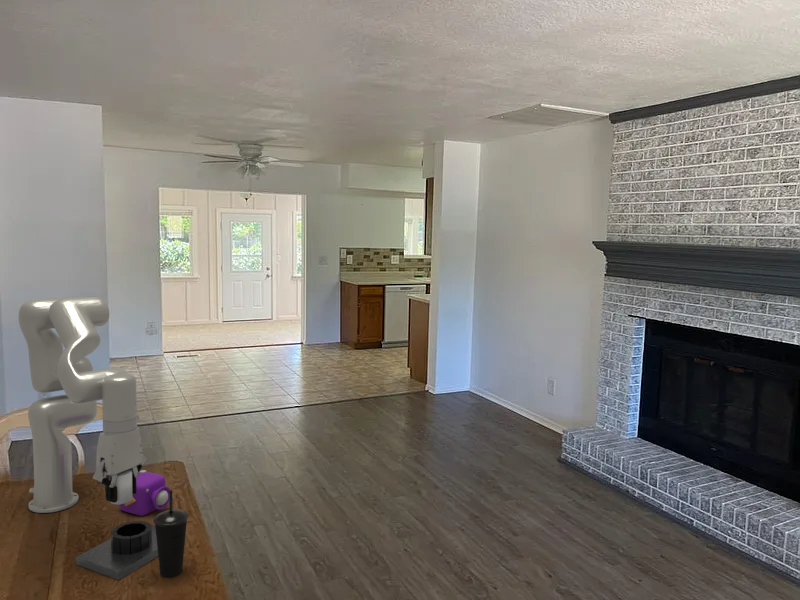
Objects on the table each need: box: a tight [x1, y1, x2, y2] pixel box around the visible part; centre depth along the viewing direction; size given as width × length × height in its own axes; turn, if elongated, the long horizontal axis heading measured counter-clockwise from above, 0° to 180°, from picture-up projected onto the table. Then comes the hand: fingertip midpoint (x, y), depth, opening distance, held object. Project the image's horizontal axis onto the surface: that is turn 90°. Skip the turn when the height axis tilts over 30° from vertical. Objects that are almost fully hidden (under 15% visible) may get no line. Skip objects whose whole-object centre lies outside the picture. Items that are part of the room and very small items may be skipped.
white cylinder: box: [109, 469, 133, 505], centre depth 147 cm, size 5×5×7 cm
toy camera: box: [119, 469, 171, 517], centre depth 172 cm, size 11×14×10 cm
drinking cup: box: [153, 489, 189, 579], centre depth 140 cm, size 8×8×20 cm
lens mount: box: [75, 520, 159, 581], centre depth 149 cm, size 14×20×6 cm
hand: (121, 496), depth 147 cm, fingers closed on white cylinder, 4 cm apart
